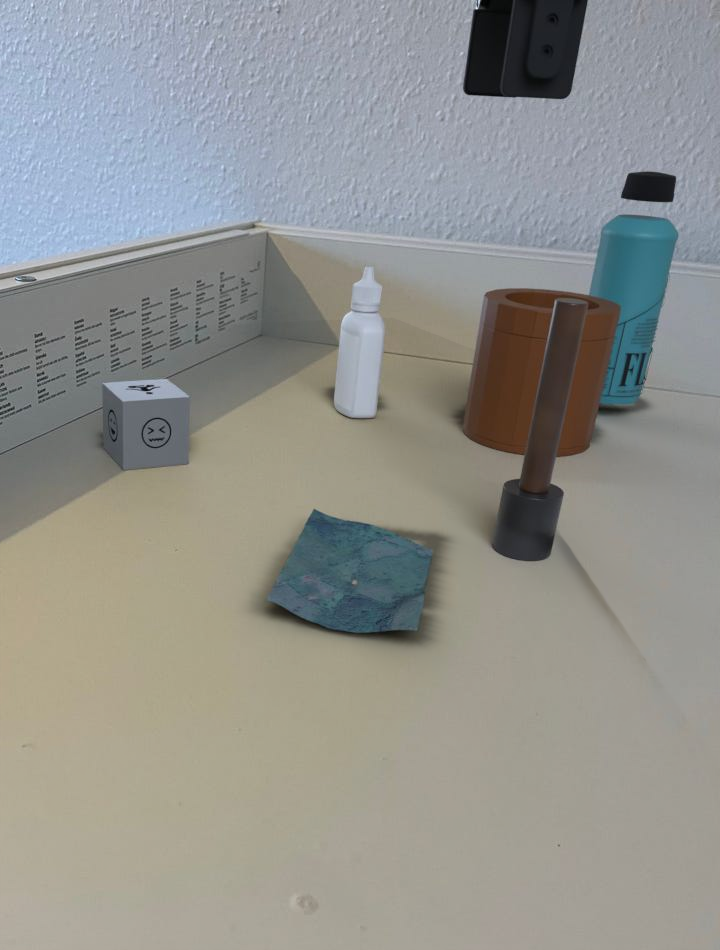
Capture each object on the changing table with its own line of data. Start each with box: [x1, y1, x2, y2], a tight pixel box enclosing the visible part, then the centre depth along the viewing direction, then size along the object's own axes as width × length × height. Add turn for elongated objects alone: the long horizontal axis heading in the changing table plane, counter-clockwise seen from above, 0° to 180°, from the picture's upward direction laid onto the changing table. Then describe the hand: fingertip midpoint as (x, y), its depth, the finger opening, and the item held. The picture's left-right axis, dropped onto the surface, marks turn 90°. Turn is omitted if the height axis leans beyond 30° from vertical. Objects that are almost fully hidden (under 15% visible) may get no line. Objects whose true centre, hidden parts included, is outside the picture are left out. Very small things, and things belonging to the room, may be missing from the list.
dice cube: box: [101, 378, 191, 471], centre depth 73 cm, size 5×5×5 cm
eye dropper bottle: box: [333, 266, 386, 419], centre depth 84 cm, size 4×6×12 cm
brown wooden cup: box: [462, 287, 621, 457], centre depth 80 cm, size 10×10×11 cm
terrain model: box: [266, 508, 434, 634], centre depth 55 cm, size 13×8×2 cm, turn 165°
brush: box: [491, 298, 588, 562], centre depth 58 cm, size 4×4×15 cm
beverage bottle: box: [588, 170, 679, 406], centre depth 86 cm, size 6×7×20 cm
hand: (511, 96), depth 50 cm, fingers open, 9 cm apart
